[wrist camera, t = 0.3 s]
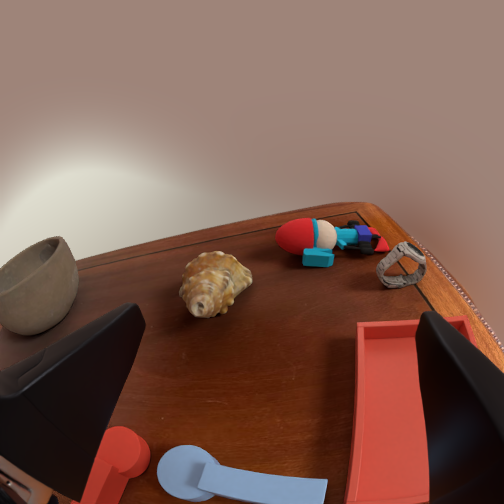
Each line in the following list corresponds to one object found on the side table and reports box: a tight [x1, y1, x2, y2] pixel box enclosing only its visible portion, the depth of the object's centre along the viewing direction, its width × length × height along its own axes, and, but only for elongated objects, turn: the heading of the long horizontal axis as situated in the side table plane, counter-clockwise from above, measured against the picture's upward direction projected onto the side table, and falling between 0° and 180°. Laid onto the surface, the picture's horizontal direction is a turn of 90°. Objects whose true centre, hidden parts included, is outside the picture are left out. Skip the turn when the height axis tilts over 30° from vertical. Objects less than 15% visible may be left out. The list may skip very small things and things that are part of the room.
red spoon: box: [71, 426, 151, 504], centre depth 14 cm, size 12×5×3 cm, turn 166°
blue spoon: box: [157, 445, 328, 504], centre depth 14 cm, size 12×5×3 cm, turn 76°
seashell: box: [179, 251, 252, 318], centre depth 31 cm, size 9×8×10 cm
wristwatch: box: [376, 242, 427, 288], centre depth 28 cm, size 4×6×5 cm, turn 90°
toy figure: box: [275, 218, 389, 267], centre depth 36 cm, size 8×5×15 cm
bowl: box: [0, 236, 79, 335], centre depth 34 cm, size 17×18×10 cm
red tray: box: [343, 315, 478, 504], centre depth 16 cm, size 16×11×2 cm
